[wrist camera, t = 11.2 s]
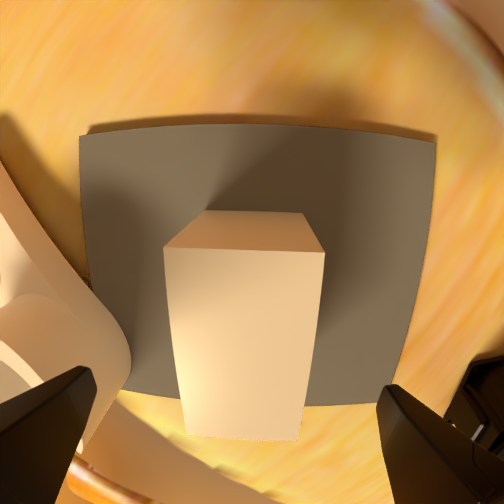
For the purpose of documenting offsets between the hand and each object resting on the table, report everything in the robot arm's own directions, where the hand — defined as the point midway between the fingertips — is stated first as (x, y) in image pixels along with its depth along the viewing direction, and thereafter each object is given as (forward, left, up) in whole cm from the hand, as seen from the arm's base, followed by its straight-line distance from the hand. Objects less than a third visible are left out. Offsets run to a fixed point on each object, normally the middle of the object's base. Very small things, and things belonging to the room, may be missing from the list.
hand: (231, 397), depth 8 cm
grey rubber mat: (0, 0, -8) cm, 8 cm away
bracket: (+15, 0, -8) cm, 17 cm away
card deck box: (0, 0, -8) cm, 8 cm away
